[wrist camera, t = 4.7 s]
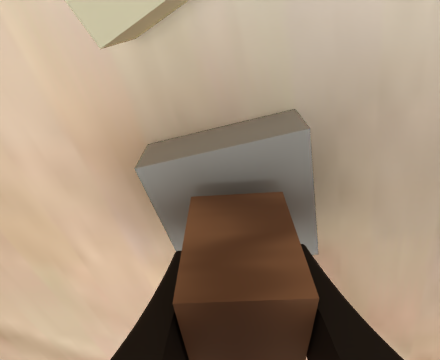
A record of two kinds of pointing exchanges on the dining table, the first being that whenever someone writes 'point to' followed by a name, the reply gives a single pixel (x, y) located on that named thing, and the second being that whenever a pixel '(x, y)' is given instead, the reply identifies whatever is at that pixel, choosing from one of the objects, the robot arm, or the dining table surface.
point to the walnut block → (244, 281)
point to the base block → (233, 170)
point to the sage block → (120, 17)
